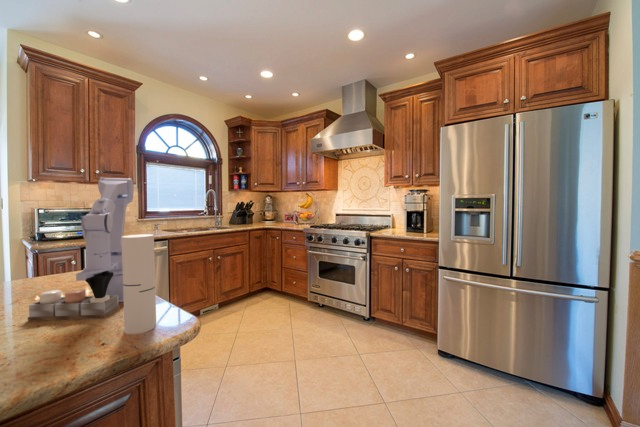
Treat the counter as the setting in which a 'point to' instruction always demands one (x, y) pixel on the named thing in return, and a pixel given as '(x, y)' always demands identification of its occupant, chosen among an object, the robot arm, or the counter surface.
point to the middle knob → (75, 296)
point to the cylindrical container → (138, 283)
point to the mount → (73, 309)
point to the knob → (99, 299)
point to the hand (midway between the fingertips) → (100, 297)
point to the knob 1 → (50, 297)
